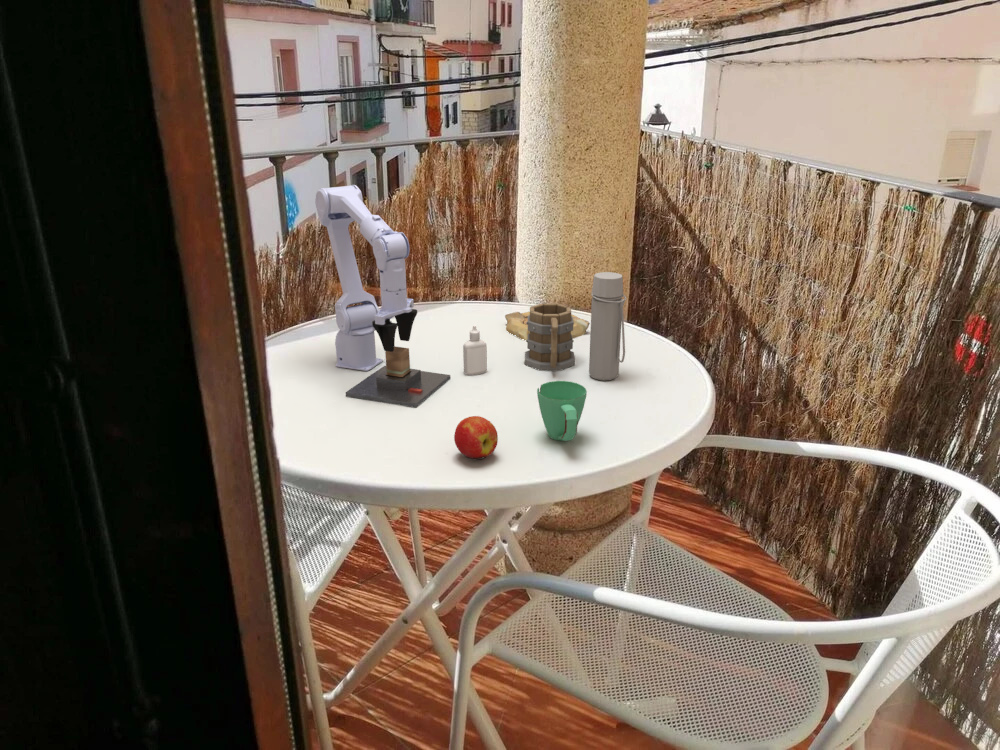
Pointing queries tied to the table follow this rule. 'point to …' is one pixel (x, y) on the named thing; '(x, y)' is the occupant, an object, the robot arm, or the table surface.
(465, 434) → the apple
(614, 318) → the water bottle
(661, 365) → the table surface
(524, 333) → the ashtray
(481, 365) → the eye dropper bottle
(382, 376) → the dark grey stepped base
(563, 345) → the tankard
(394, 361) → the walnut post
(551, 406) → the mug
